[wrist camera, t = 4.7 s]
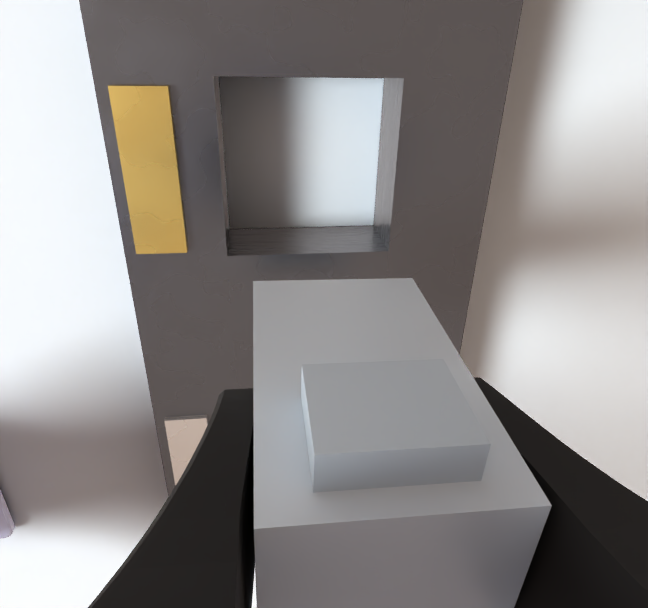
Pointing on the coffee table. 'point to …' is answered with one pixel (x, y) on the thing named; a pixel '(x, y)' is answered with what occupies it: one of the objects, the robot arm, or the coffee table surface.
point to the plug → (379, 457)
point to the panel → (287, 243)
